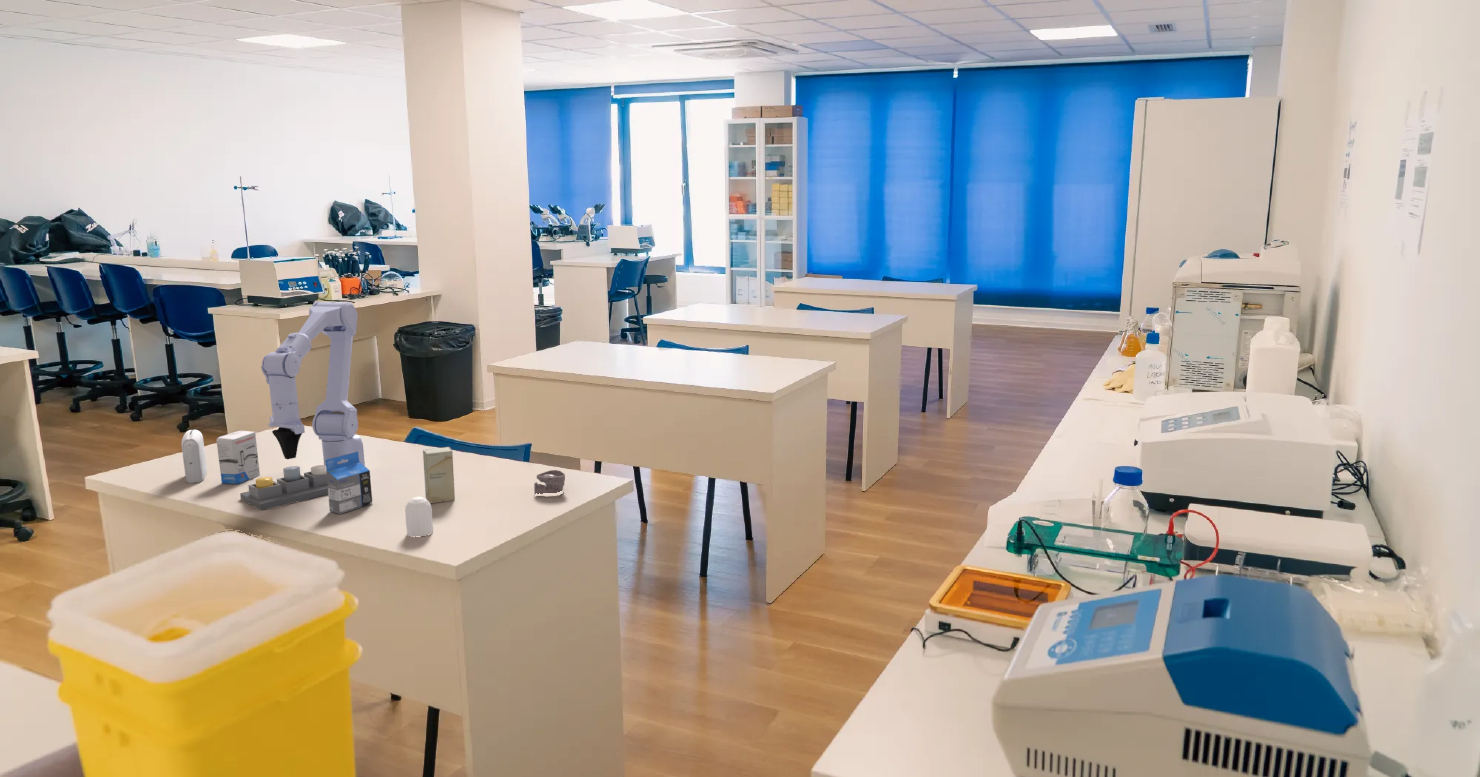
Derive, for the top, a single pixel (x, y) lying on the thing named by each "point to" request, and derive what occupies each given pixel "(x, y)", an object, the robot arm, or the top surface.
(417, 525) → the white rounded cylinder
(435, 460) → the skincare box
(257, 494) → the panel
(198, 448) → the photo printer
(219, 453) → the ink box
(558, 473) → the dental mold
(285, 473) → the slate button
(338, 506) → the label tape cartridge
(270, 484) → the amber button
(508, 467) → the top surface
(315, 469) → the ivory button
